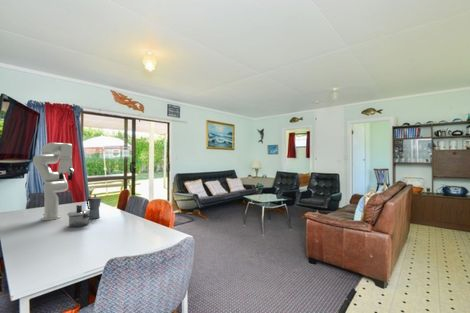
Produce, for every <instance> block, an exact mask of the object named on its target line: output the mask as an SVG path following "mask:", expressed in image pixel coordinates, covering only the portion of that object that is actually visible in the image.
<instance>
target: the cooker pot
mask: <svg viewBox="0 0 470 313" xmlns="http://www.w3.org/2000/svg"><path fill="white" fill-rule="evenodd" d="M67 216H68V228H71V229H72V228H73V229H74V228H83V227H86V226H88V225H90V219H89V217H91V215H89V213H88V214H85V215H79V216H69V215H68V214H67Z"/></svg>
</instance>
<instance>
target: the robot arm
mask: <svg viewBox="0 0 470 313" xmlns="http://www.w3.org/2000/svg"><path fill="white" fill-rule="evenodd" d="M40 151H41V152H42V154H36V155H34V156H33V159H32V163H33V166H34V167H35V169H36V170H37V171H38V173H39V175H40V179H41V181H42V182H43V183H44V184H43V186H42V190H43V194H44V195H43V196H44V199H43V200H44V205H43V206H44V208H43V209H44V213H42V216H43V217H42V218H41V220H42V221H51V220H58V219H60V218H61V216H62V215H59V198H60V197H59V196H58V194H56V193H62V192H66V191H68V190H69V183H68V181H72V180H73V175H74V173H75V169H74V168H73V144H72V143H66V142H48V143H46V144H45V145H44V146H42V147H41V149H40ZM58 162H59V163H58ZM57 163H58V168H57V171H52V168H51V167H50V166H49V165H50V164H51V165H54V164H57ZM47 164H48V165H47ZM65 174H67V179H66V176H65Z"/></svg>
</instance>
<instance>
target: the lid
mask: <svg viewBox="0 0 470 313" xmlns="http://www.w3.org/2000/svg"><path fill="white" fill-rule="evenodd" d="M75 206H76V210H74V211H73V210H72V211H69V212H68V213H67V216H68V215H69V216H79V215H85V214H88V213H90V211H89V210H90V209H82V208H83V207H82V204H77V205H75ZM69 216H68V217H69Z"/></svg>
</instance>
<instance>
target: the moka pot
mask: <svg viewBox="0 0 470 313" xmlns="http://www.w3.org/2000/svg"><path fill="white" fill-rule="evenodd" d="M101 200H102V197H101V196H97V194H94V195H93V196H92V197H89V198H87V200H86V206H87V210H89V211H90V213H89V215H91V217H89V220H94V219H99V218H100V217H101V216H100V206H101Z"/></svg>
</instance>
